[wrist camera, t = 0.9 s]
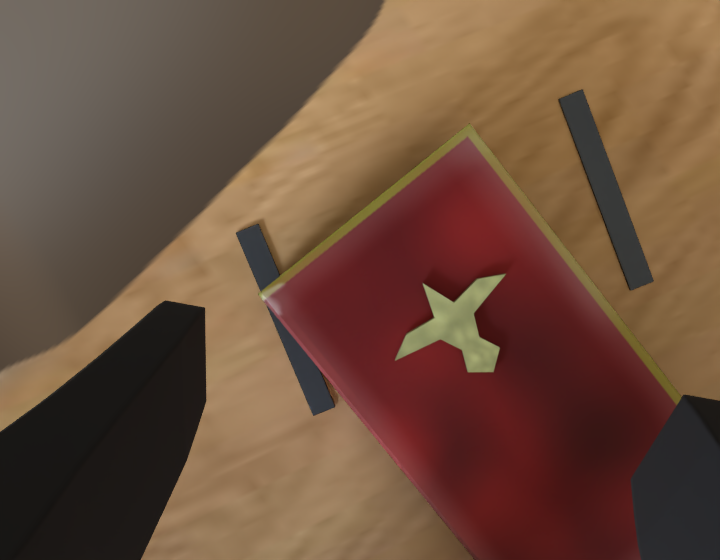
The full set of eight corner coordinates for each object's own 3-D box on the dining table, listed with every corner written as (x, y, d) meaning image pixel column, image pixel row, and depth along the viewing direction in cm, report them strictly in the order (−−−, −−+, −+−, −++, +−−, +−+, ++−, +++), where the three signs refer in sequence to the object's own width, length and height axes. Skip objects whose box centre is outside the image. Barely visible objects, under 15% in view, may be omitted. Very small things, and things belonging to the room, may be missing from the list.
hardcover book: (523, 603, 34) (545, 657, 30) (267, 288, 33) (251, 298, 28) (712, 464, 33) (763, 499, 29) (457, 135, 32) (470, 122, 28)
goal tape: (653, 281, 32) (654, 281, 32) (313, 415, 33) (313, 415, 33) (581, 89, 31) (582, 89, 31) (236, 232, 32) (235, 233, 32)
